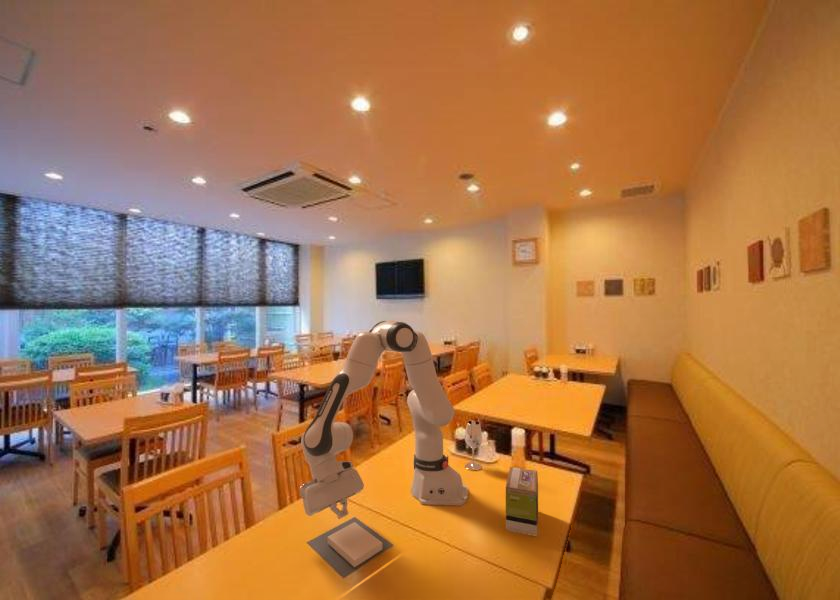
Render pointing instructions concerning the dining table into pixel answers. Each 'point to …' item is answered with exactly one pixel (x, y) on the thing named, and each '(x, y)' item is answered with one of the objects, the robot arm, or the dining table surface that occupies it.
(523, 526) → the tea box
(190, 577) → the dining table surface
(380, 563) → the dining table surface
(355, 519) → the slate mat
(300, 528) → the dining table surface
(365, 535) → the glazed tile
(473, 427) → the wineglass
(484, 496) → the dining table surface
